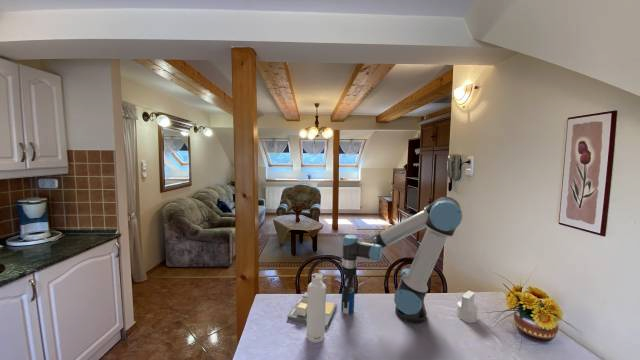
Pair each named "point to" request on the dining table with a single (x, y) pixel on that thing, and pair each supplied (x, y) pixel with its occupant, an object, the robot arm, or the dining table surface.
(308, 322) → the bottle
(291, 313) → the breaker panel
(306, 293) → the toggle
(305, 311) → the toggle
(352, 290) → the beverage can
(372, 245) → the robot arm
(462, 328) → the dining table surface
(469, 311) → the cylinder with rectangular tab
